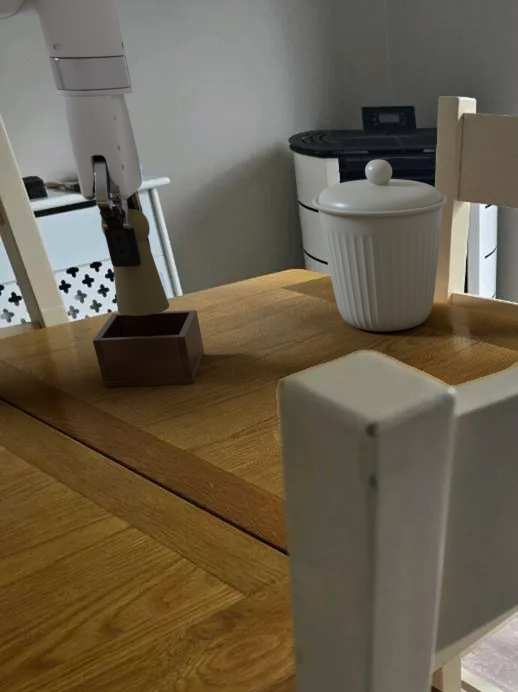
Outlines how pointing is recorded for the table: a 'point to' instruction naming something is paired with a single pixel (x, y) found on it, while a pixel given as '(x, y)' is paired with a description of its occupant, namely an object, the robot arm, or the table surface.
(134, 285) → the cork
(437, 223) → the canister
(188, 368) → the box
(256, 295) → the table surface
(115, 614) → the table surface
